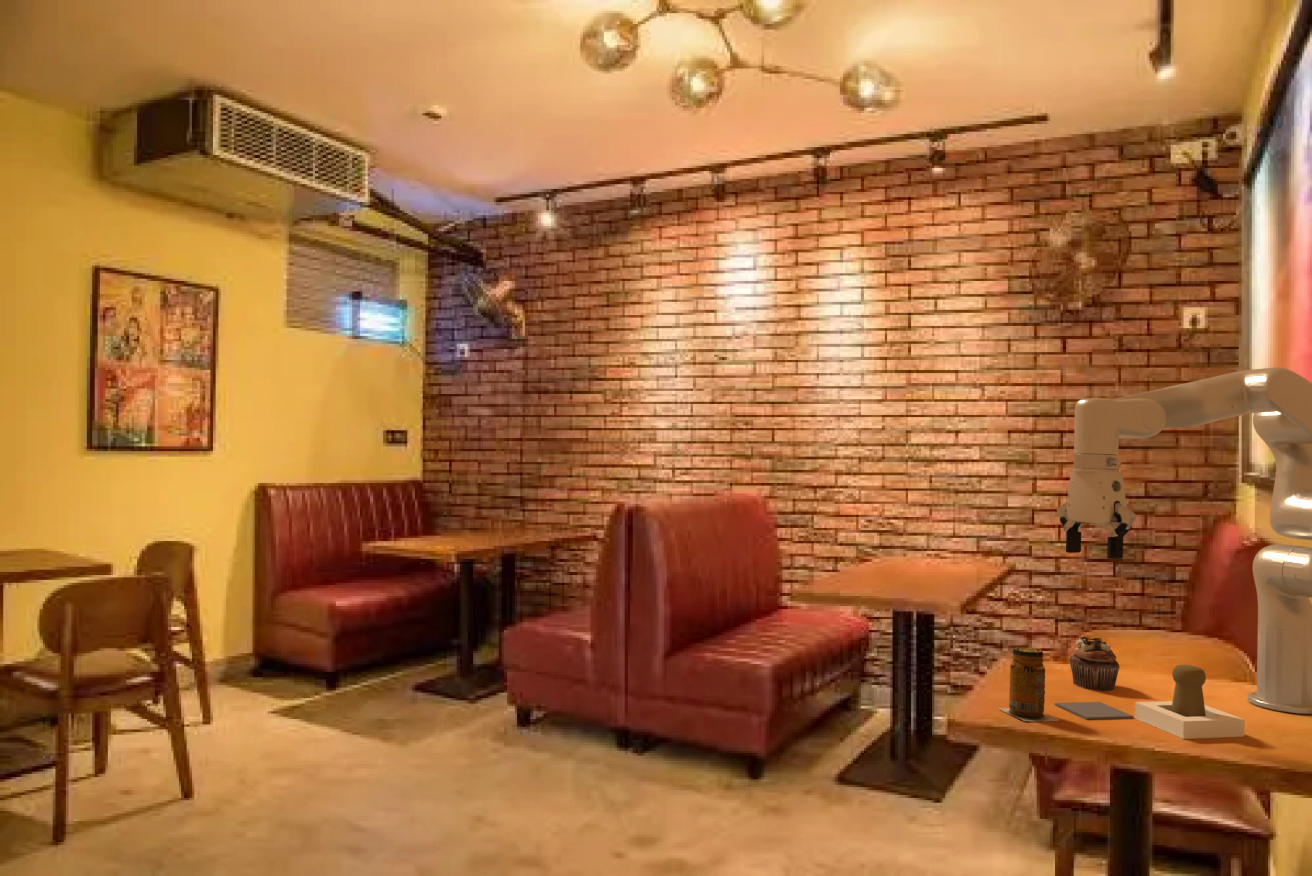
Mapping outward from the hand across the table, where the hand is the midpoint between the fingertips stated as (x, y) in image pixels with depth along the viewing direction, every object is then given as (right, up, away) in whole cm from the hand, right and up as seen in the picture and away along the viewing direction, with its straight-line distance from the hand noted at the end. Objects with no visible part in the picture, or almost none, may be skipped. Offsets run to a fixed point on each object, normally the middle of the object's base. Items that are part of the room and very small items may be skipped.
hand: (1093, 555), depth 172 cm
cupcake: (+10, -30, +21) cm, 38 cm away
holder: (+13, -30, -8) cm, 33 cm away
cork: (+13, -30, -8) cm, 34 cm away
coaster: (0, -30, +1) cm, 30 cm away
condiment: (-13, -30, -2) cm, 32 cm away
